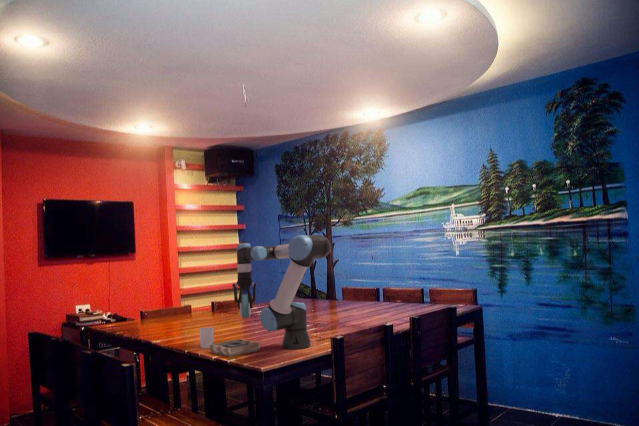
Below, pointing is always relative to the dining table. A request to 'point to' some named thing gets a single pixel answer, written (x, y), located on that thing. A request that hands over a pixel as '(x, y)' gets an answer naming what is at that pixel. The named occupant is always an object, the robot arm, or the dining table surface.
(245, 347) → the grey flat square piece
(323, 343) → the dining table surface
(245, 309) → the peg
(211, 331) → the white cup
